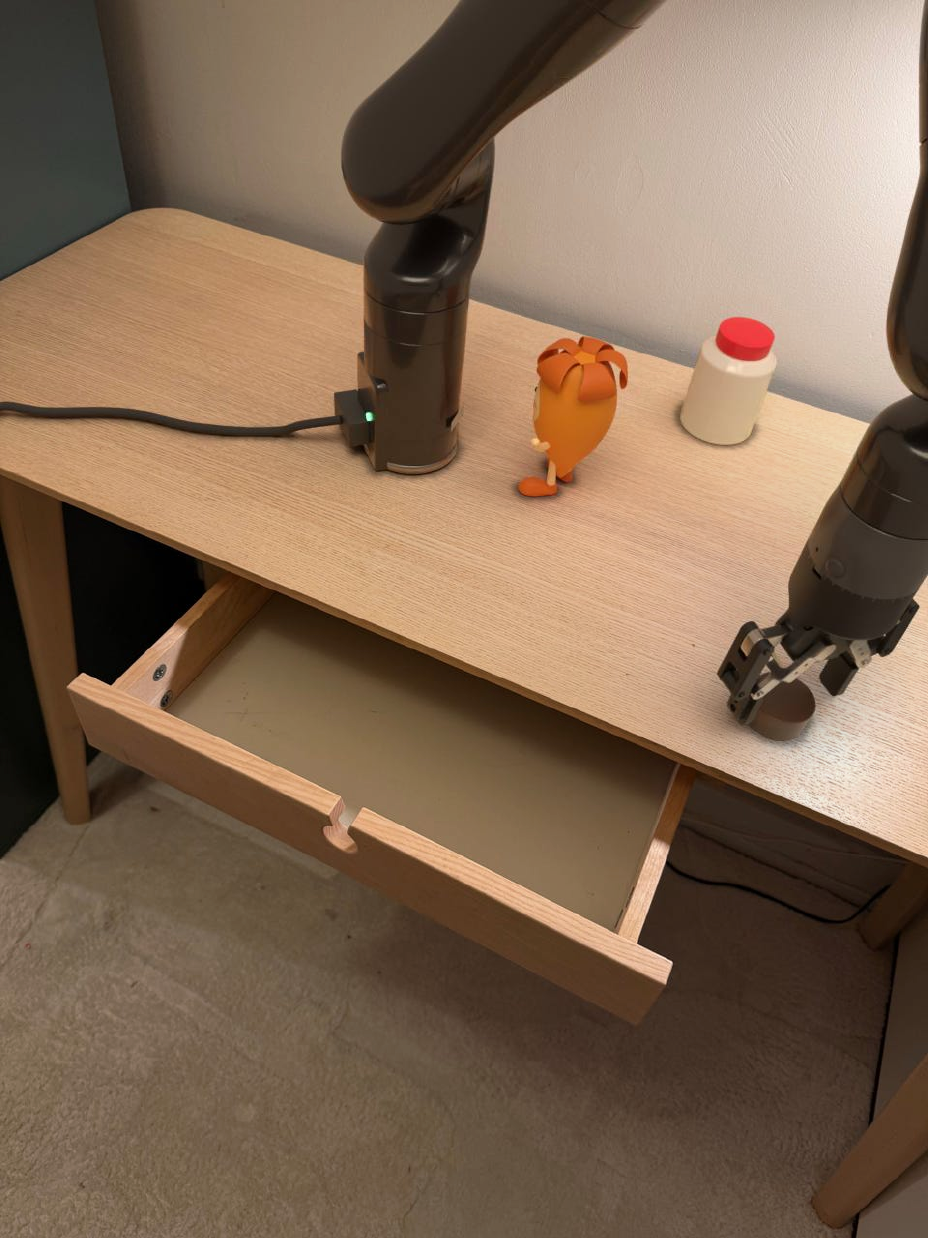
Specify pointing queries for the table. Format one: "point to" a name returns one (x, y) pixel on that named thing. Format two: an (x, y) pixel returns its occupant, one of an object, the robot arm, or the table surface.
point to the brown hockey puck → (784, 710)
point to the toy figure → (572, 406)
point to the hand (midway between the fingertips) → (784, 701)
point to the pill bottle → (730, 382)
